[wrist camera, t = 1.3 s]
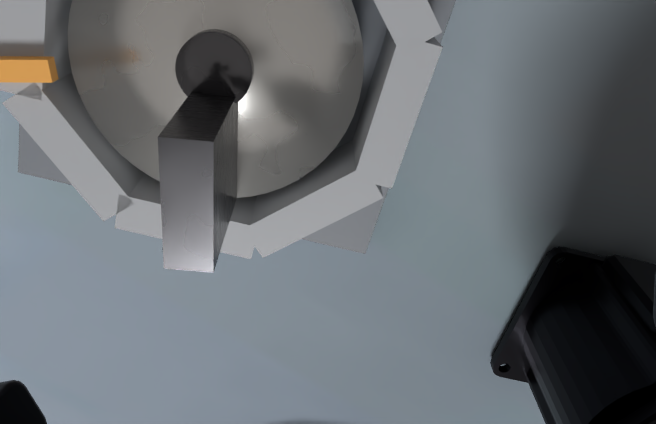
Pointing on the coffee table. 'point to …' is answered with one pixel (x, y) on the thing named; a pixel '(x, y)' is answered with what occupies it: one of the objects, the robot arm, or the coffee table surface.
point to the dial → (216, 99)
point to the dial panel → (249, 212)
